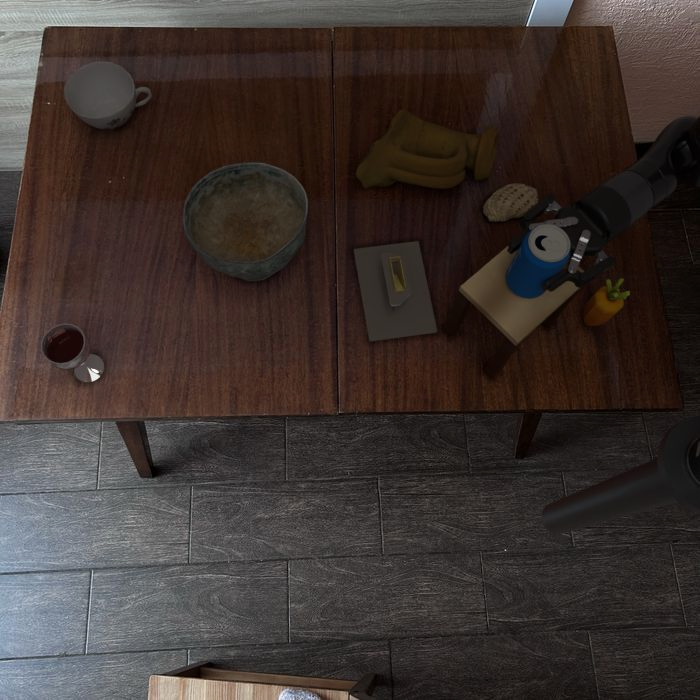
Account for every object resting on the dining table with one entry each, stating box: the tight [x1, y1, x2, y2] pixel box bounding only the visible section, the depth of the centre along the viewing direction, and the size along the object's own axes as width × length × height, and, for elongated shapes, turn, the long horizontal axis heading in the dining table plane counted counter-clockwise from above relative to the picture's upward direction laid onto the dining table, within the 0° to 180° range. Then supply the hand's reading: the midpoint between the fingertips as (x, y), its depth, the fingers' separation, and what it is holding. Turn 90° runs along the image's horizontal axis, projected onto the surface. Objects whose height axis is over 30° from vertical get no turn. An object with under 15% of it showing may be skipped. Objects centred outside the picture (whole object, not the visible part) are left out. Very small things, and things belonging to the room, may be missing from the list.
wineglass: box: [40, 322, 105, 383], centre depth 111 cm, size 7×7×12 cm
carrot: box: [583, 277, 631, 327], centre depth 115 cm, size 5×5×15 cm
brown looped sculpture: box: [355, 109, 500, 190], centre depth 126 cm, size 18×13×22 cm
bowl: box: [182, 161, 309, 282], centre depth 118 cm, size 20×19×15 cm
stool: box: [441, 245, 585, 380], centre depth 113 cm, size 12×16×18 cm
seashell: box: [482, 182, 539, 223], centre depth 127 cm, size 8×6×10 cm
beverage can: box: [506, 225, 570, 299], centre depth 99 cm, size 6×6×12 cm
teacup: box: [63, 60, 153, 130], centre depth 130 cm, size 15×12×8 cm
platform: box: [353, 240, 438, 342], centre depth 120 cm, size 12×18×7 cm, turn 9°
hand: (527, 268), depth 97 cm, fingers open, 6 cm apart
